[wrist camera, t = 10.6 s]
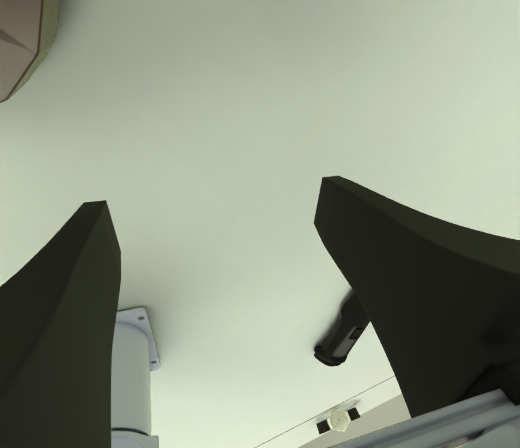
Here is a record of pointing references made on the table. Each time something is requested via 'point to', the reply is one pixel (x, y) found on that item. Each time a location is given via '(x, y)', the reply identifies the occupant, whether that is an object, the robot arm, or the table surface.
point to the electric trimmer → (343, 333)
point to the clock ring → (24, 40)
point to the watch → (338, 420)
